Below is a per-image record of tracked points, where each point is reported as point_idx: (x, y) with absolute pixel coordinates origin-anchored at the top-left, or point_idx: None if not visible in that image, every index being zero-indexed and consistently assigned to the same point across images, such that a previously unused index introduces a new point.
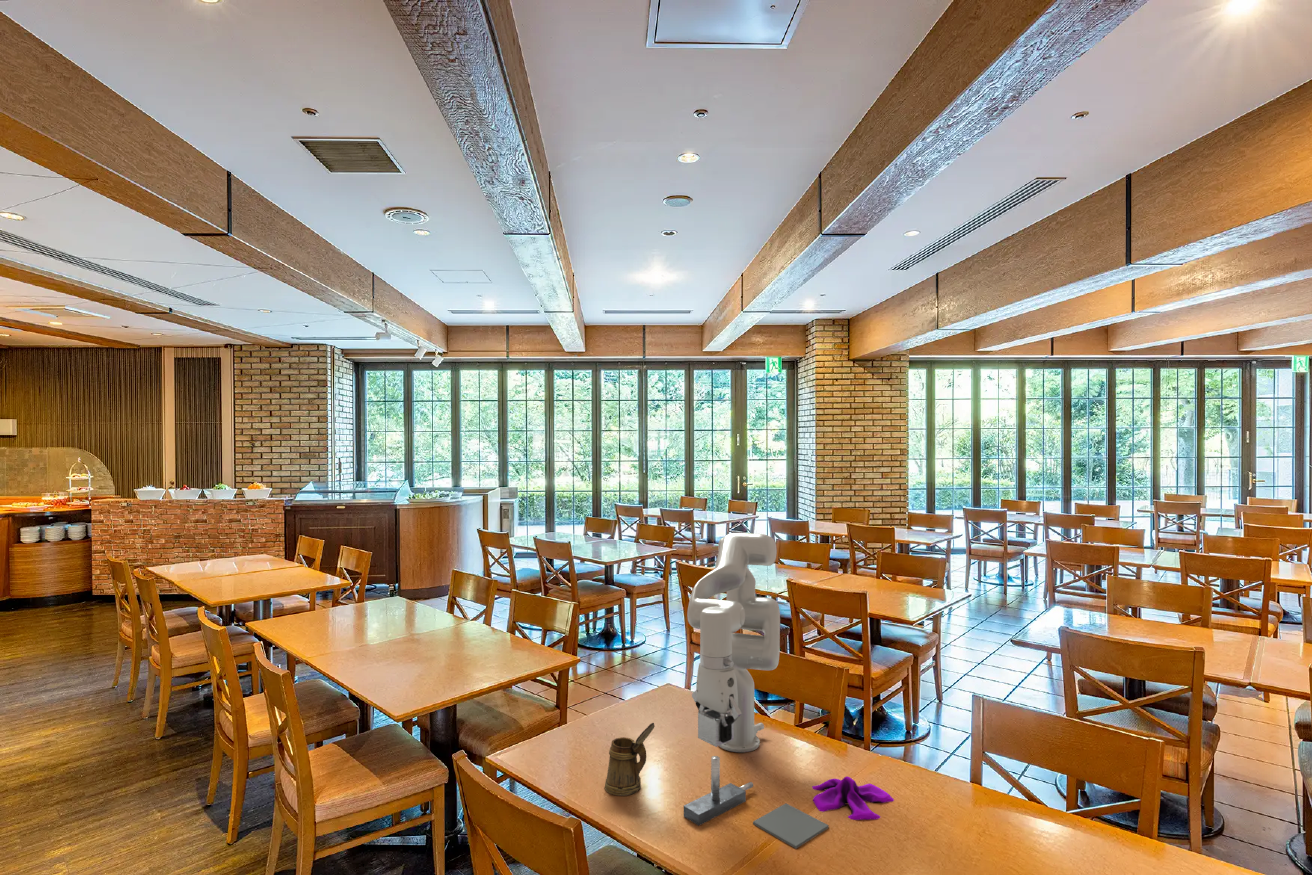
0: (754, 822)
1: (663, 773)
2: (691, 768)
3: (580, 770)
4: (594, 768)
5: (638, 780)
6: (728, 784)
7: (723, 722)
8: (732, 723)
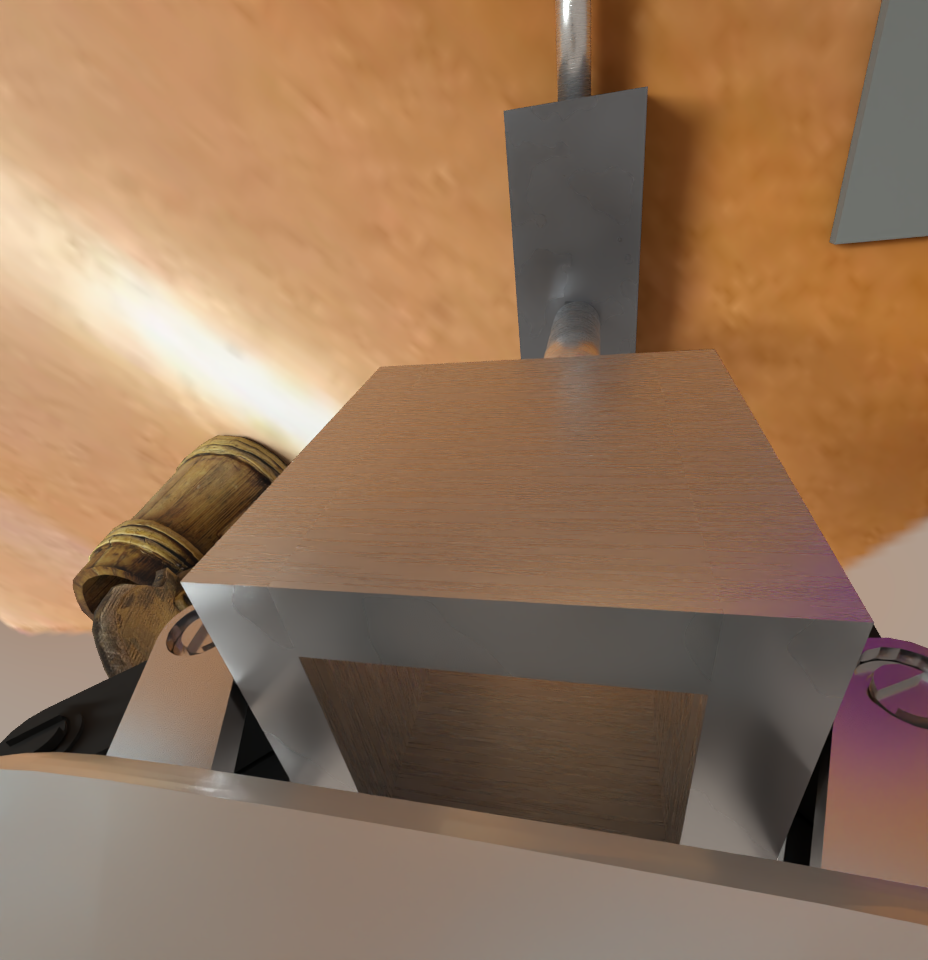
0: (845, 241)
1: (198, 306)
2: (186, 137)
3: (111, 527)
4: (105, 490)
5: (263, 478)
6: (510, 139)
7: (803, 813)
8: (924, 671)
